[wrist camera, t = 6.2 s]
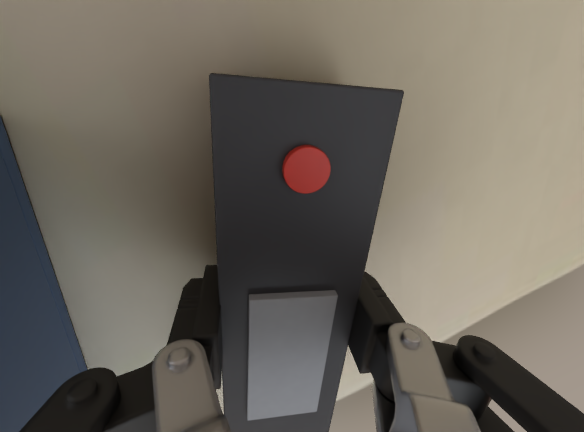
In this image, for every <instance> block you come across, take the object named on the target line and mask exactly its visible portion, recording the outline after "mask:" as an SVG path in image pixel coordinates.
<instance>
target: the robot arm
mask: <svg viewBox="0 0 584 432" xmlns="http://www.w3.org/2000/svg"><path fill="white" fill-rule="evenodd" d="M348 345H349V348H350V350H351V353H352V355H353V357H354V360H355V362H356V365H357V367H358V370H359V372H360V374H361V373H370V372H371V374H372V376H373V378H374V380H373V384H372V394H373V403H374V412H375V420H376V429H377V432H514V431H513V430H512V429H511V428H510V427H509V426H508V425H507V424H506V423H505V422H504V421H503V420H501V419H500V418H499V417H498V416H497V415H496V414H495V413H494V412H493V411H492V410H491V409H490V408H489V407H488V405H489V403H490V401H491V399H493V400H494V401H495V402H496V403H497V404H498V405H499V406H500V407H501V408H502V409H503V410H504V411H506V412H507V413H508V414H509V415H510V416H511V417H512V418H513V419H514V420H515V421H516V422H517V423H518V424H519V425H521V426H522V427H523V428H524V429H525V430H526V431H527V432H584V414H583V413H582V412H581V411H579V410H578V409H577V408H576V407H574V406H573V405H572V404H570V403H569V402H568V401H566V400H565V399H564V398H563V397H561V396H560V395H559V394H557V393H556V392H555V391H553V390H552V389H551V388H550V387H548V386H547V385H546V384H544V383H543V382H542V381H540V380H539V379H538V378H537V377H535V376H534V375H533V374H531V373H530V372H529V371H528V370H526V369H525V368H524V367H522V366H521V365H520V364H518V363H517V362H516V361H515V360H513V359H512V358H511V357H509V356H508V355H507V354H505V353H504V352H503V351H502V350H500V349H499V348H498V347H496V346H495V345H493V344H492V343H490V342H489V341H487V340H485V339H483V338H480V337H476V336H472V335H467V336H463V337H461V338H460V339H459V341H458V343H457V345H456V346H455V345H449V344H445V343H440V342H435V341H431V339H430V337H429V336H428V335H427V334H426V333H425V332H424V331H423V330H421V329H420V328H418V327H416V326H414V325H411V324H408V323H406V322H405V321H404V319H403V318H402V316H401V315H400V314H399V312H398V311H397V309H396V308H395V306H394V305H393V304H392V302H391V301H390V299H389V298H388V297H387V295H386V293H385V292H384V291H383V290H382V288H381V286H380V285H379V283H378V282H377V281H376V279H375V278H373V277H372V276H371V275H369V274H368V273H367V272H364V275H363V279H362V284H361V288H360V293H359V297H358V301H357V305H356V310H355V314H354V319H353V323H352V328H351V332H350V337H349V341H348ZM222 358H223V350H222V325H221V305H219V289H218V267H217V265H206V267H205V272H204V277H203V278H193V279H191V280H190V281H189V282H188V283H187V284H186V285H185V286H184V287H183V291H182V294H181V298H180V301H179V305H178V309H177V312H176V315H175V318H174V322H173V325H172V329H171V332H170V336H169V339H168V343H167V345H166V346H165V347H164V348H162V349H161V350H160V351H159V352H158V354H157V355H156V356H155V358H154V360H153V361H152V362H151V363H149V364H147V365H146V366H144V367H141V368H139V369H136V370H134V371H131V372H128V373H125V374H123V375H120V376H117V377H116V375H115V373H114V372H113V371H111V370H109V369H107V368H93V369H89V370H86V371H83V372H81V373H78V374H76V375H75V376H73V377H71V378H70V379H68V380H67V381H66V382H64V383H63V384H62V385H61V386H60V387H59V388H58V389H57V390H56V391H55V392H54V393H53V394H52V396H51V397H50V398H49V399H48V400H47V401H46V402H45V403H44V404H43V406H42V407H41V408H40V409H39V410H38V411H37V412H36V413H35V414H34V416H33V417H32V418H31V419H30V420H29V421H28V422H27V423H26V424H25V426H24V427H23V428H22V429H21V430H20V431H19V432H231V429H230V426H229V423H228V420H227V417H226V415H225V414H224V415H223V413H222V410H221V407H220V403H219V400H218V396H217V392H216V389H220V388H221V373H222Z"/></svg>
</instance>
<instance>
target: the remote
mask: <svg viewBox="0 0 584 432" xmlns="http://www.w3.org/2000/svg"><path fill="white" fill-rule="evenodd" d="M209 86H210V109H211V132H212V154H213V177H214V199H215V222H216V244H217V267H218V289H219V305H221V325H222V350H223V358H222V380H223V402H224V414H225V415H226V417H227V420H228V423H229V426H230V429H231V432H329V428H330V423H331V419H332V414H333V410H334V405H335V401H336V396H337V392H338V387H339V383H340V378H341V374H342V369H343V365H344V360H345V356H346V351H347V347H348V341H349V337H350V332H351V328H352V323H353V319H354V314H355V310H356V305H357V301H358V297H359V293H360V288H361V284H362V279H363V275H364V270H365V266H366V261H367V257H368V252H369V248H370V243H371V239H372V234H373V230H374V225H375V221H376V216H377V211H378V207H379V202H380V198H381V193H382V189H383V184H384V180H385V175H386V171H387V166H388V162H389V157H390V153H391V148H392V144H393V139H394V135H395V130H396V126H397V121H398V117H399V112H400V108H401V103H402V99H403V94H404V91H402V90H395V89H384V88H373V87H362V86H351V85H339V84H328V83H317V82H306V81H295V80H283V79H272V78H261V77H250V76H239V75H227V74H216V73H211V74H210V75H209Z"/></svg>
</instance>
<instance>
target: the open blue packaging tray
mask: <svg viewBox="0 0 584 432" xmlns="http://www.w3.org/2000/svg"><path fill="white" fill-rule="evenodd" d="M86 370H87V367H86V364H85V361H84V358H83V355H82V352H81V350H80V347H79V344H78V341H77V338H76V335H75V332H74V329H73V326H72V323H71V320H70V317H69V314H68V312H67V309H66V306H65V303H64V300H63V297H62V294H61V291H60V288H59V285H58V282H57V279H56V276H55V274H54V271H53V268H52V265H51V262H50V259H49V256H48V253H47V250H46V247H45V244H44V241H43V239H42V236H41V233H40V230H39V227H38V224H37V221H36V218H35V215H34V212H33V209H32V206H31V203H30V201H29V198H28V195H27V192H26V189H25V186H24V183H23V180H22V177H21V174H20V171H19V168H18V166H17V163H16V160H15V157H14V154H13V151H12V148H11V145H10V142H9V139H8V136H7V133H6V130H5V128H4V125H3V122H2V119H1V116H0V432H19V431H20V430H21V429H22V428H23V427H24V426H25V424H26V423H27V422H28V421H29V420H30V419H31V418H32V417H33V416H34V414H35V413H36V412H37V411H38V410H39V409H40V408H41V407H42V406H43V404H44V403H45V402H46V401H47V400H48V399H49V398H50V397H51V396H52V394H53V393H54V392H55V391H56V390H57V389H58V388H59V387H60V386H61V385H62V384H63V383H64V382H66V381H67V380H68V379H70V378H71V377H73V376H75V375H76V374H78V373H81V372H83V371H86Z"/></svg>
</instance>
